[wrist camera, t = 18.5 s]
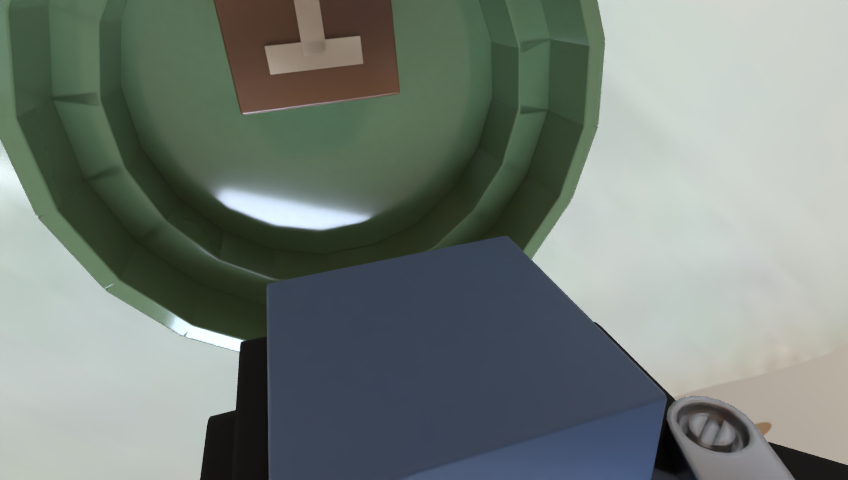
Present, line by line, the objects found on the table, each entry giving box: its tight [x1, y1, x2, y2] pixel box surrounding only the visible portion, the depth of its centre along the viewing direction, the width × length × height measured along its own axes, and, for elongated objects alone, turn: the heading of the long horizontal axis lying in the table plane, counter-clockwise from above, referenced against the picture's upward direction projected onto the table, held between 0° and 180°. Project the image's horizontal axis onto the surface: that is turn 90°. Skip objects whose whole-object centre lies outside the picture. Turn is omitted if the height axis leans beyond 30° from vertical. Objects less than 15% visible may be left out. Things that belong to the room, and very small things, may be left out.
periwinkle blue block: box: [266, 236, 667, 480], centre depth 9 cm, size 5×5×5 cm
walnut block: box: [213, 0, 400, 115], centre depth 17 cm, size 5×5×5 cm
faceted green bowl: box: [0, 0, 605, 352], centre depth 18 cm, size 18×18×6 cm
